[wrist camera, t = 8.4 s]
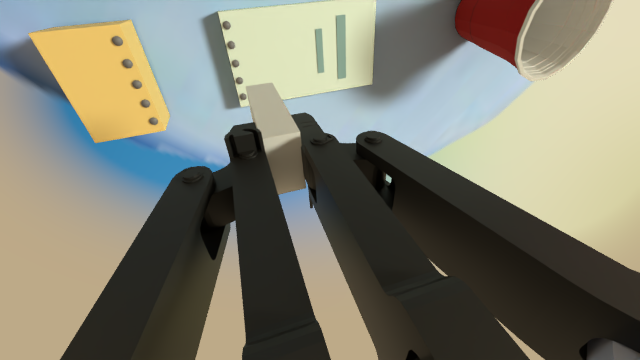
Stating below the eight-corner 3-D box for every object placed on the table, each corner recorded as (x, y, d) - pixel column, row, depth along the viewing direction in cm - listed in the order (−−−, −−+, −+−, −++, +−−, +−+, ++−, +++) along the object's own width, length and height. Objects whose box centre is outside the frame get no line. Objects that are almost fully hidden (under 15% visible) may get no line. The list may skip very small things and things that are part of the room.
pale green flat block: (217, 11, 26) (218, 12, 25) (369, -4, 30) (376, -4, 28) (239, 102, 32) (241, 107, 30) (366, 81, 35) (372, 84, 34)
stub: (52, 27, 23) (26, 33, 20) (131, 19, 24) (118, 24, 21) (108, 126, 28) (94, 143, 25) (169, 115, 30) (165, 130, 26)
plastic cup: (448, 76, 39) (525, 104, 29) (426, 0, 32) (516, 5, 23) (515, 25, 37) (617, 37, 28) (506, -64, 31) (636, -88, 21)
